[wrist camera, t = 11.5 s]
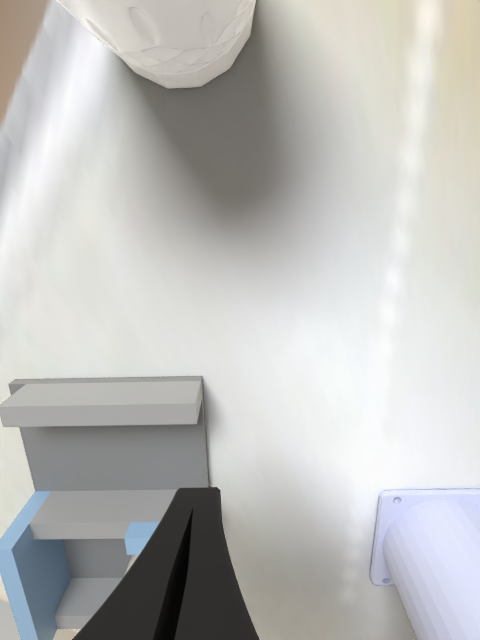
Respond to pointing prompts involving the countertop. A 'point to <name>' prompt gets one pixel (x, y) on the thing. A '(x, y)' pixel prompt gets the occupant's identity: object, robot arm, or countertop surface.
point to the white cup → (169, 35)
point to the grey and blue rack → (94, 487)
